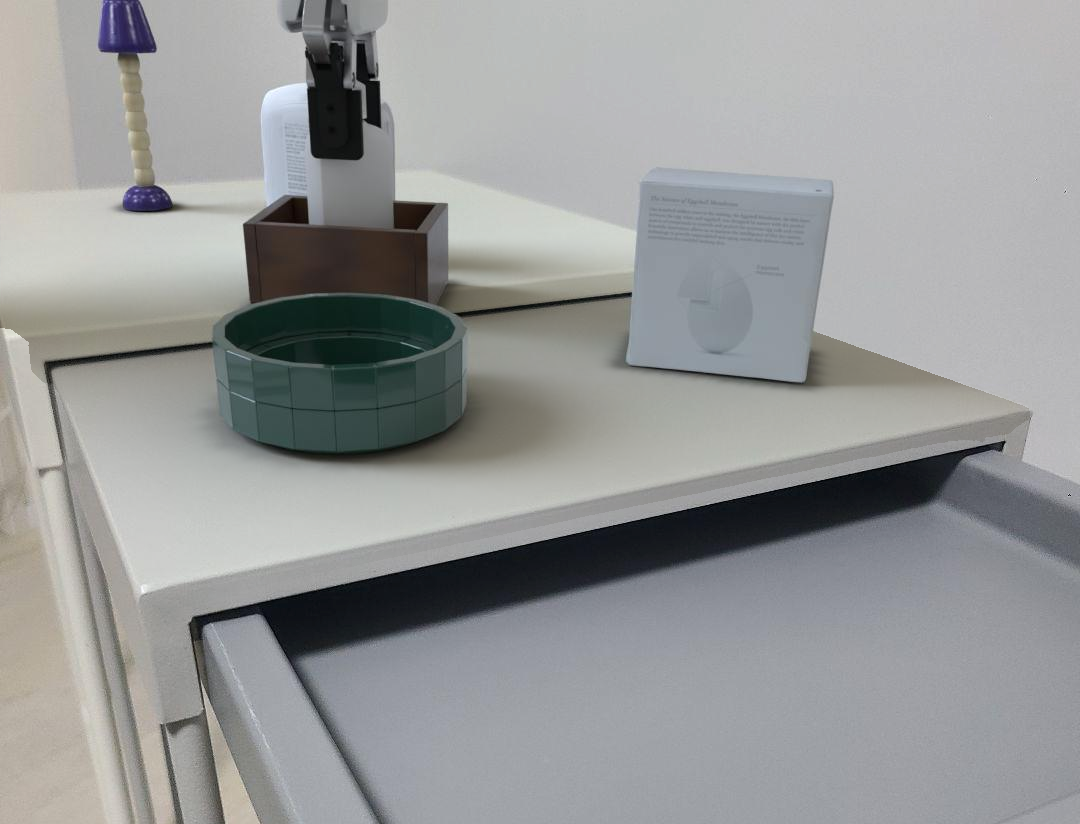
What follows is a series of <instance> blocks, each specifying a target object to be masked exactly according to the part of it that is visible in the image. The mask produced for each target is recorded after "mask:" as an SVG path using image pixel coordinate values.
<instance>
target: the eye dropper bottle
mask: <svg viewBox="0 0 1080 824" xmlns="http://www.w3.org/2000/svg"><path fill="white" fill-rule="evenodd" d="M355 90H361V91H362V117H363V119H365V118H367V115H366V88H365V85H364V84H362V83H361V82H359V81H357V80H356V87H355ZM363 143H364V155H363V157H362V158H361V159H360V160H336V159H317V158H314V157H313V156H312V154H311V148H310V134H309V135H308V137H307V139H306V141H305V164H306V182H307V199H308V214H309V224H312V225H331V226H350V227H369V228H389V229H394V216H393V182H392V155H391V143H390V138H389V136H388V135H387V134H386V132H384V131H383V130H382V129H380V128H378V127H376V126H374V125H371V124H368V123H366V121H364V120H363Z"/></svg>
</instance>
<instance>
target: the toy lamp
mask: <svg viewBox="0 0 1080 824" xmlns="http://www.w3.org/2000/svg"><path fill="white" fill-rule="evenodd" d="M99 18H100V20H99V30H98V39H97V48H98V50H99V52H101V53H105V54H106V53H108V54H117V65H118V69H119V71H120V72H121V73H120V76H119V82H120V83H119V84H120V86H121V89H122V91H123V94H122V103H123V107H124V109H125V110H126V112H125V115H124V118H125V124H126V127H127V129H128V130H129V131H128V134H127V138H128V140H127V141H128V143H129V146H130V148H131V152H130V157H131V161H132V165H133V167H134V171H133V178H134V182H135V184H136V185H133V186H131V187H129V188H128V189H127V190H126V191H125V193H124V195H123V199H122V208H123V209H124V210H127V211H134V212H137V211H138V212H147V211H148V212H149V211H161V210H165V209H170V208H171V207H173V201H172V198H171V196H170V195H169V193H168V192H167V190H165V189H164V188H162V187H160V186H158V185H157V184H155V182H156V175H155V172H154V171H155V170H154V169H153V168H152V166H153V155H152V152H151V150H150V146H151V137H150V135H149V134H150V133H148V131H147V129H148V119H147V115H146V113H145V112H144V111H145V106H146V105H145V97H144V95H143V93H142V90H143V80H142V77H141V75H140V73H139V72H140V69H141V62H140V58H139V55H138V54H156V53H157V50H158V48H157V43H156V41H155V37H154V35H153V31H152V29H151V26H150V24H149V20H148V18H147V16H146V13H145V9H144V8H143V5H142V3H141V1H140V0H102V2H101V9H100V17H99Z"/></svg>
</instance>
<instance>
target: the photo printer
mask: <svg viewBox="0 0 1080 824" xmlns="http://www.w3.org/2000/svg"><path fill="white" fill-rule="evenodd" d="M307 88H308V87H307V83H306V82H298V83H291V84H286V85H283V86H279V87H276V88H273V89H271V90H269V91H267V92H266V94H265V95H264V98H263V100H262V104H261V109H260V130H261V131H260V132H261V146H262V161H263V171H264V172H263V173H264V174H263V175H264V186H265V187H264V189H265V204H266V207H268V206H269V205H271V204H272V203H273V202H275V201H276V200H278V199H279V198H281V197H282V196H283V195H294V196H295V195H299V196H307V182H306V164H305V141H306V139H307V137H308V135H309V134H310V132H309V116H308V100H307ZM393 115H394V114H393V112H392V108H391V107H390V104H389V103H388V102H386V101H385V100H384V99H381V128H382V130H383V131H384V132H386V134H387V135H388V136H389V138H390V143H391V155H392V182H393V200H396V145H395V144H396V143H395V142H396V141H395V140H396V139H395V120H394V116H393Z"/></svg>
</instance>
